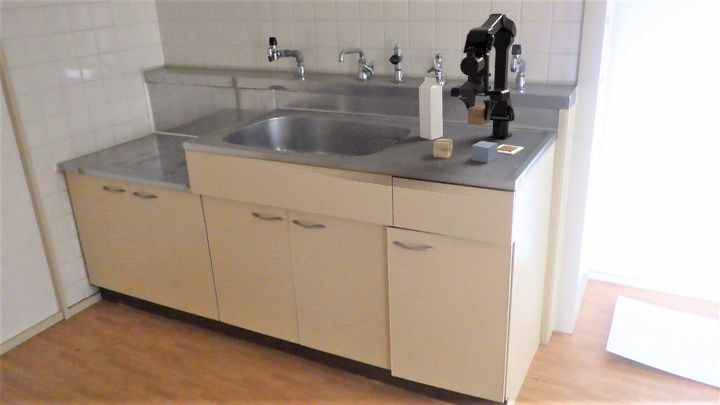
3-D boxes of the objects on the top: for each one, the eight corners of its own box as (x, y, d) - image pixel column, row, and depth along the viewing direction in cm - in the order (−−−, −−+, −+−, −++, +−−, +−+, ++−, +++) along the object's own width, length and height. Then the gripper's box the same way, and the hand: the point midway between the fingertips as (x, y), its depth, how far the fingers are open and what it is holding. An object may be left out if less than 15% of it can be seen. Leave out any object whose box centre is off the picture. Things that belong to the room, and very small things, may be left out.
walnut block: (476, 120, 197) (476, 105, 195) (489, 122, 194) (489, 106, 192) (467, 123, 193) (468, 108, 192) (481, 125, 190) (481, 109, 188)
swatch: (502, 145, 208) (502, 143, 207) (523, 148, 203) (524, 146, 202) (491, 151, 202) (491, 149, 202) (512, 154, 197) (513, 152, 197)
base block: (481, 155, 199) (481, 140, 197) (497, 158, 195) (497, 143, 194) (471, 160, 195) (471, 145, 193) (488, 163, 191) (488, 148, 189)
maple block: (438, 152, 205) (438, 138, 203) (452, 153, 203) (452, 139, 201) (433, 157, 201) (433, 142, 199) (447, 158, 199) (447, 143, 197)
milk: (431, 140, 220) (429, 79, 211) (419, 137, 224) (418, 78, 216) (443, 136, 223) (442, 77, 215) (431, 133, 227) (430, 75, 219)
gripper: (440, 72, 188) (440, 121, 193) (493, 76, 176) (491, 128, 182) (459, 67, 196) (459, 114, 201) (511, 70, 184) (509, 120, 189)
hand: (478, 119), depth 193 cm, fingers closed on walnut block, 5 cm apart
